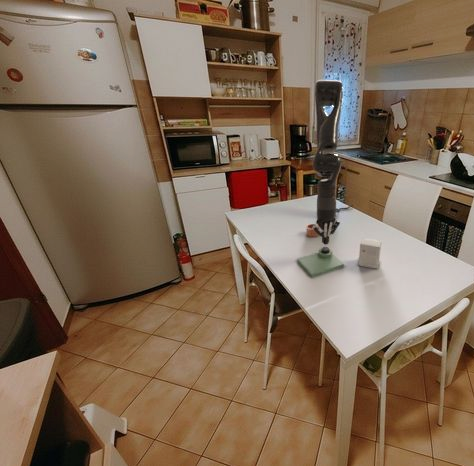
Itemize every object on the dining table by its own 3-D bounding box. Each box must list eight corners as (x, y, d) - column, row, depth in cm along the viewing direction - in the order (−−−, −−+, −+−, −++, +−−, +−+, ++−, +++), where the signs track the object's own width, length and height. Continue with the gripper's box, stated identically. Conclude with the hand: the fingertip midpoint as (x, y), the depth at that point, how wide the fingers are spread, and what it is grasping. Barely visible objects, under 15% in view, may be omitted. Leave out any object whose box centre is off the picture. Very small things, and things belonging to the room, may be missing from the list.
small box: (379, 262, 113) (382, 240, 108) (377, 269, 108) (380, 247, 103) (360, 258, 115) (362, 237, 110) (358, 265, 110) (360, 243, 105)
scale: (327, 252, 119) (327, 246, 118) (343, 266, 109) (344, 260, 108) (297, 261, 113) (297, 255, 111) (312, 277, 103) (312, 271, 101)
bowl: (315, 230, 138) (315, 222, 136) (321, 235, 133) (321, 227, 131) (304, 233, 136) (304, 225, 134) (310, 238, 131) (310, 230, 129)
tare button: (326, 249, 116) (326, 246, 116) (330, 252, 114) (330, 249, 113) (320, 251, 115) (320, 247, 114) (324, 254, 112) (324, 251, 112)
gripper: (316, 212, 98) (316, 251, 106) (345, 205, 104) (343, 243, 112) (307, 205, 104) (307, 243, 112) (335, 200, 110) (333, 236, 118)
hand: (325, 243), depth 112 cm, fingers closed
